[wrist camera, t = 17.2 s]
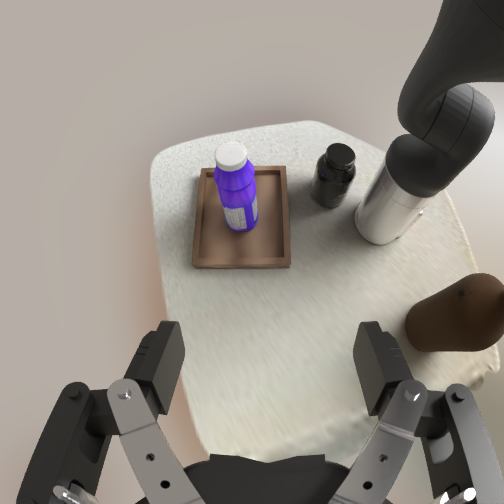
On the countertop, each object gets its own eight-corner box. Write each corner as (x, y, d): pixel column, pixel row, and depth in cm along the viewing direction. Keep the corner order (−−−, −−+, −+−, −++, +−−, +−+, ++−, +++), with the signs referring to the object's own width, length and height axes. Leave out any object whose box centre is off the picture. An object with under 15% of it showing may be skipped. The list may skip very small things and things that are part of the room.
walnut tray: (285, 173, 54) (285, 165, 52) (289, 267, 48) (290, 263, 46) (203, 175, 55) (201, 168, 53) (195, 268, 49) (191, 264, 47)
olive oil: (403, 358, 41) (503, 352, 18) (400, 298, 45) (491, 249, 21) (449, 350, 41) (549, 335, 17) (446, 295, 44) (539, 250, 21)
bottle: (224, 200, 52) (206, 136, 36) (254, 195, 52) (248, 130, 36) (228, 236, 49) (209, 180, 33) (261, 231, 49) (257, 173, 33)
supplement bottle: (341, 213, 51) (358, 177, 40) (306, 203, 52) (315, 164, 41) (347, 184, 53) (363, 145, 42) (314, 174, 54) (323, 133, 43)
